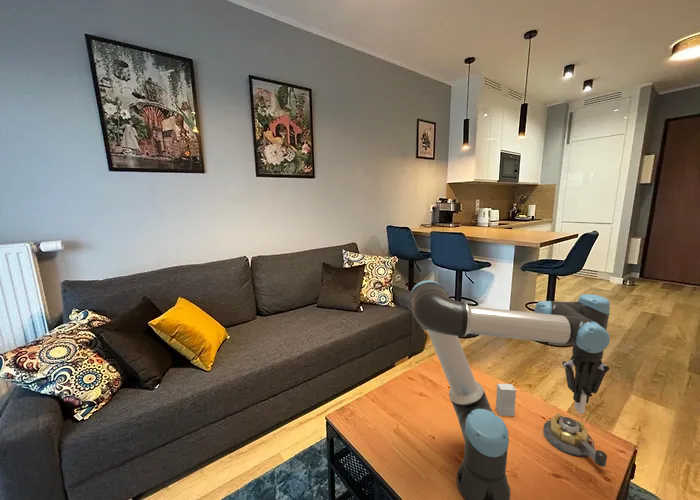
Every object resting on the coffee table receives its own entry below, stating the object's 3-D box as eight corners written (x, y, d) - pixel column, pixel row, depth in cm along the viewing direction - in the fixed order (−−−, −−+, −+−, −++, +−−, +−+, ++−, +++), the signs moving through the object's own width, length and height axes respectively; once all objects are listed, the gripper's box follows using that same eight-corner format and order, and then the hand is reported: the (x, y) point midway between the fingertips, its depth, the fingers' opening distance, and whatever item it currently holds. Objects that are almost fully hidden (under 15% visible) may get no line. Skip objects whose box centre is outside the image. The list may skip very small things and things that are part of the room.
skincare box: (510, 409, 127) (512, 383, 125) (514, 416, 123) (516, 390, 121) (495, 408, 128) (496, 383, 125) (498, 415, 123) (500, 389, 121)
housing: (584, 464, 101) (587, 444, 99) (536, 436, 113) (537, 418, 111) (599, 442, 109) (602, 424, 108) (553, 418, 121) (555, 401, 120)
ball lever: (618, 465, 98) (620, 453, 97) (589, 469, 96) (590, 458, 96) (568, 421, 116) (570, 412, 116) (543, 424, 115) (544, 415, 114)
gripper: (602, 338, 97) (592, 403, 101) (559, 337, 99) (551, 401, 103) (620, 350, 90) (609, 420, 94) (573, 349, 91) (565, 417, 95)
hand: (579, 410), depth 98 cm, fingers closed
